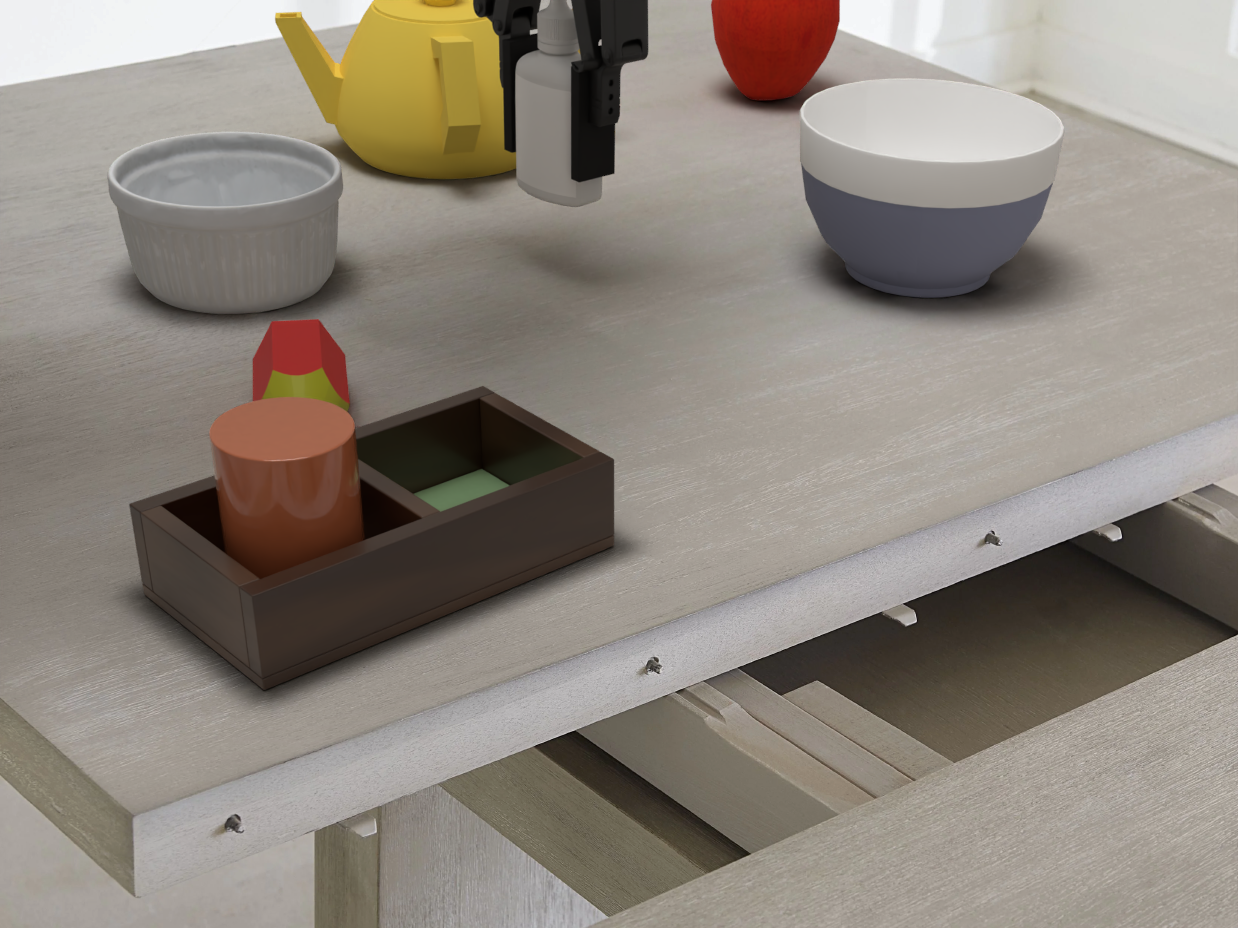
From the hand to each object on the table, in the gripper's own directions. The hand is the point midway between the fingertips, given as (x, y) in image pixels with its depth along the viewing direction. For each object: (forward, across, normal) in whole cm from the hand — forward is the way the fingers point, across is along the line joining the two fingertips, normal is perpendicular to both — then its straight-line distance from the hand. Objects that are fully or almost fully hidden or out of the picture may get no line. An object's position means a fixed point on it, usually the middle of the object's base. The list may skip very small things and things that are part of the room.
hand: (558, 160), depth 114 cm
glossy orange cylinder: (+6, -24, +34) cm, 42 cm away
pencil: (+7, -11, +25) cm, 28 cm away
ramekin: (+7, +10, +17) cm, 21 cm away
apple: (+6, +17, -34) cm, 39 cm away
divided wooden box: (+7, -24, +29) cm, 38 cm away
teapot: (+7, +22, -7) cm, 24 cm away
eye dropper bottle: (+2, 0, 0) cm, 2 cm away
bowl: (+7, -14, -17) cm, 23 cm away
